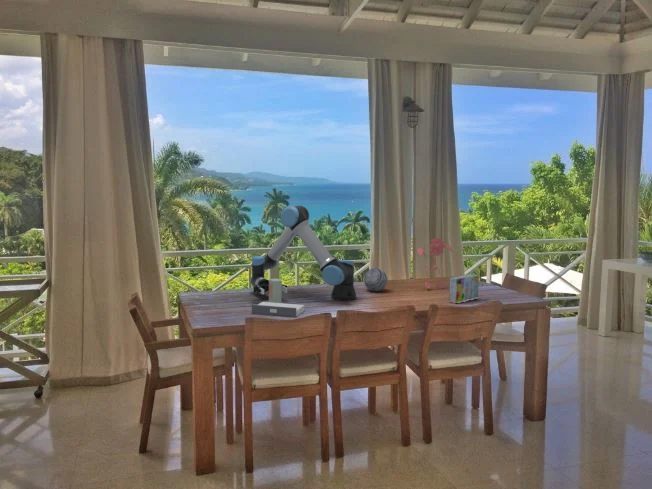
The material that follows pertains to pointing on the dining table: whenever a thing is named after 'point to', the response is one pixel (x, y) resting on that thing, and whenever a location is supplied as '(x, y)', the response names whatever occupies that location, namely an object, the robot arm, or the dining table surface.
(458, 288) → the snack box
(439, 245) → the figurine
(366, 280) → the decorative orb
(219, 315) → the dining table surface
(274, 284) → the carton
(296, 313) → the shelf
